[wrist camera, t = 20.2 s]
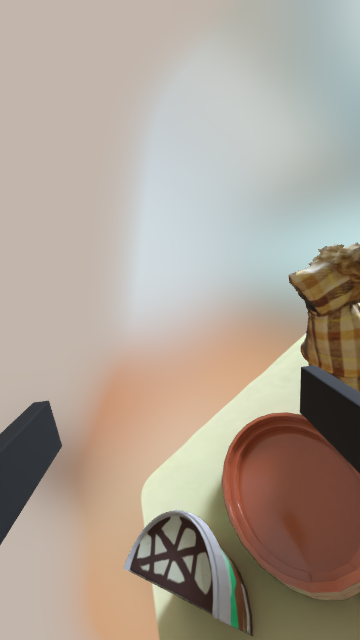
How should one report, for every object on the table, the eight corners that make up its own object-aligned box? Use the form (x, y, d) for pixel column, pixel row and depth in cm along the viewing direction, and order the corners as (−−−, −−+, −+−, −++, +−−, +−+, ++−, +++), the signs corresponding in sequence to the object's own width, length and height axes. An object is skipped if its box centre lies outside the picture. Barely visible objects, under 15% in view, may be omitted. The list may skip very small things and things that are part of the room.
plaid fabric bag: (301, 347, 43) (260, 257, 30) (386, 333, 36) (381, 204, 23) (317, 414, 34) (267, 326, 21) (436, 413, 27) (475, 276, 14)
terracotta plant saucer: (282, 403, 37) (276, 393, 36) (429, 502, 20) (426, 489, 19) (210, 477, 34) (202, 468, 33) (315, 667, 17) (304, 662, 16)
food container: (265, 550, 24) (227, 516, 20) (267, 644, 19) (219, 620, 16) (183, 526, 30) (144, 497, 27) (170, 592, 26) (120, 566, 22)
